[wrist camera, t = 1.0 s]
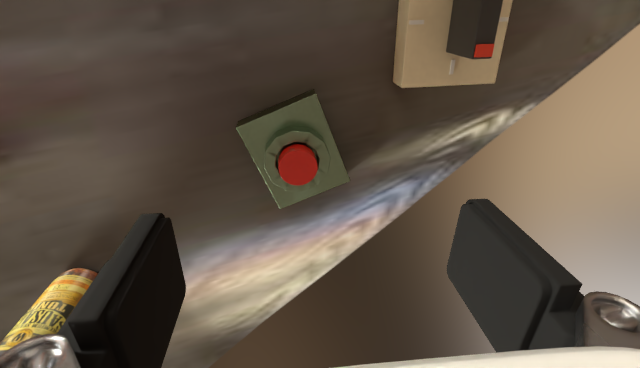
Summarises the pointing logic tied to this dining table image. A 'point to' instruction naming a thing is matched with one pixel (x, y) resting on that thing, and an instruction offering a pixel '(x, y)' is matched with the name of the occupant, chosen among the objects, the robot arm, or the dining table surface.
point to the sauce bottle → (51, 307)
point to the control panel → (439, 47)
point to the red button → (297, 164)
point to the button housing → (288, 129)
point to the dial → (473, 28)
